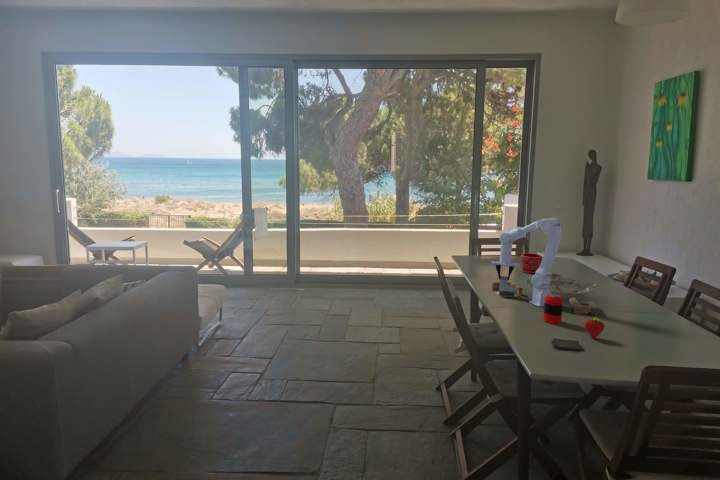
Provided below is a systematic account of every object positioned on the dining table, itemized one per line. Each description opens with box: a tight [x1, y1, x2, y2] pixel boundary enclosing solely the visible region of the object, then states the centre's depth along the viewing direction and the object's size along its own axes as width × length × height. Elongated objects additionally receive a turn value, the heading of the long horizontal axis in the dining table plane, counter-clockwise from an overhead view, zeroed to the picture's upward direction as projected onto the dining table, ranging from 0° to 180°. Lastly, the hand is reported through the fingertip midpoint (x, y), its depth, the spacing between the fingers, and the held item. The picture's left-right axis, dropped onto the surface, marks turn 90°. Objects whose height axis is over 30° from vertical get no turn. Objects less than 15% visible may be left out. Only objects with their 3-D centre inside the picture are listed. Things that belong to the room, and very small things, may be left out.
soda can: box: [542, 293, 564, 325], centre depth 219 cm, size 8×8×12 cm
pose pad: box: [494, 291, 519, 298], centre depth 266 cm, size 10×9×1 cm
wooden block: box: [568, 296, 601, 316], centre depth 240 cm, size 4×11×18 cm
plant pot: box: [520, 252, 543, 274], centre depth 322 cm, size 13×13×12 cm
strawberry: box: [584, 315, 605, 339], centre depth 199 cm, size 6×8×10 cm
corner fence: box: [491, 281, 523, 297], centre depth 268 cm, size 13×11×4 cm
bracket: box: [498, 275, 516, 298], centre depth 262 cm, size 9×8×5 cm
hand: (503, 279), depth 264 cm, fingers closed on bracket, 4 cm apart
